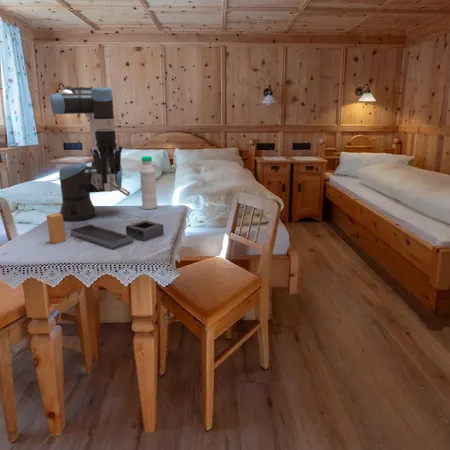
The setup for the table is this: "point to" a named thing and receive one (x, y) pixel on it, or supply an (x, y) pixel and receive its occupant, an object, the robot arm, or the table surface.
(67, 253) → the table surface
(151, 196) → the water bottle
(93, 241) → the tray
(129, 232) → the socket
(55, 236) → the tan rectangular block
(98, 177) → the bracket
